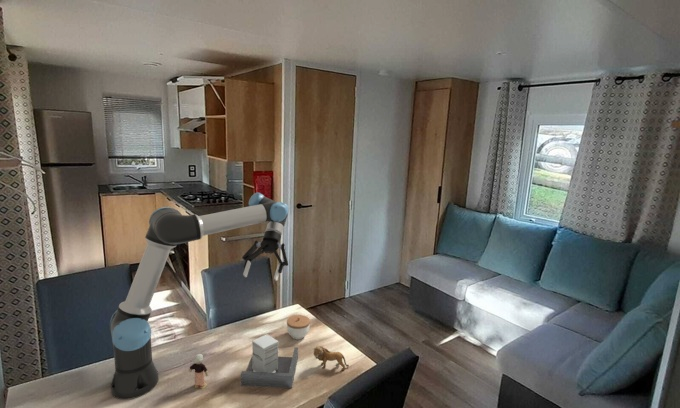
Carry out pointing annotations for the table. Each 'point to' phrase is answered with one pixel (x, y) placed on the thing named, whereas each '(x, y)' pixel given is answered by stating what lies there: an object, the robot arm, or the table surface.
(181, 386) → the table surface
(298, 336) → the lidded jar
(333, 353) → the lion figurine
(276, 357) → the supplement box
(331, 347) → the table surface
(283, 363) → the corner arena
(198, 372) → the grandmother figurine
